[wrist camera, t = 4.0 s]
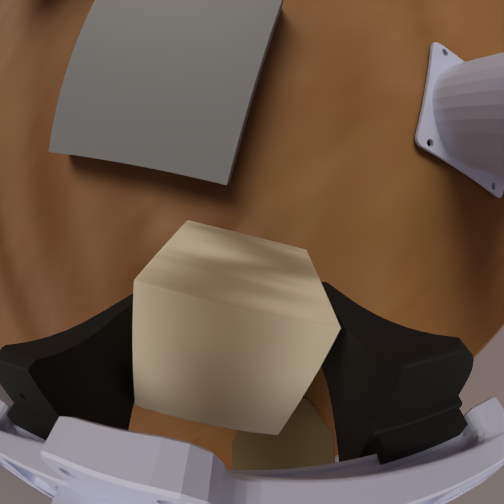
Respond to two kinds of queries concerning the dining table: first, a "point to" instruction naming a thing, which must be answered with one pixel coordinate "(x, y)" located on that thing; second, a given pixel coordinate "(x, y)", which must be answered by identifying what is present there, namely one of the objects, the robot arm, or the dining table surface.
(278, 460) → the squeeze bottle
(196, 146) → the charcoal base
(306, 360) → the birch cube
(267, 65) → the dining table surface
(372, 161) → the dining table surface
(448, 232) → the dining table surface
